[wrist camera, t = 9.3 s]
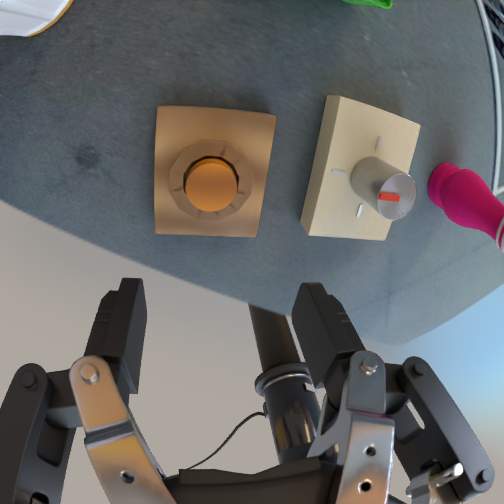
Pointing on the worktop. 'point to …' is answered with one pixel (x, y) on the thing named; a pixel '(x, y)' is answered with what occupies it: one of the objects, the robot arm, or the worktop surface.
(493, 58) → the worktop surface
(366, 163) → the dimmer knob
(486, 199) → the pepper mill
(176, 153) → the switch block
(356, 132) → the dimmer panel
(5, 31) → the cup
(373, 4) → the fruit basket
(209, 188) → the light button
